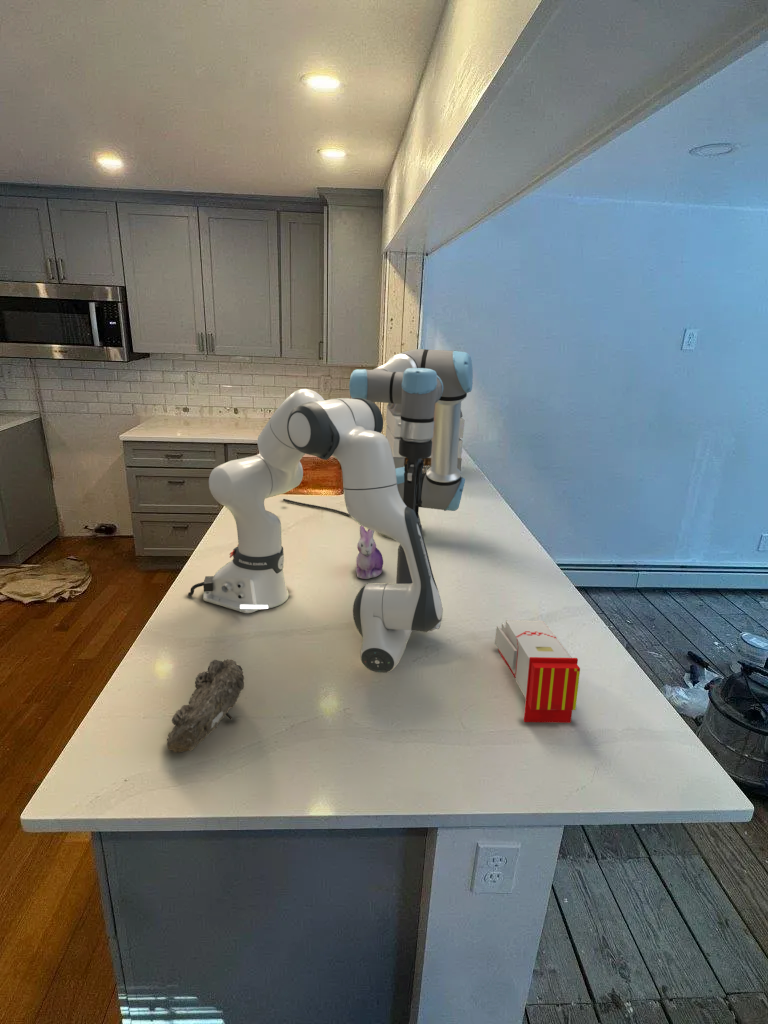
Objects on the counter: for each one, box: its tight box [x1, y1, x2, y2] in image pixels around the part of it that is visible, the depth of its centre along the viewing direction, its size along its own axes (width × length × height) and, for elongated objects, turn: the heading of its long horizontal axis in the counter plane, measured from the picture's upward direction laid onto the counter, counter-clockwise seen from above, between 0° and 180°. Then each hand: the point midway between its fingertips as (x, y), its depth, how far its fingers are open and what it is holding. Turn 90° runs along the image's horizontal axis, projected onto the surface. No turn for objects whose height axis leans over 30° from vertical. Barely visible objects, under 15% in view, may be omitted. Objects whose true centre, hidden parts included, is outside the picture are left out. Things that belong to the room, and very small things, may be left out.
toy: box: [494, 619, 581, 724], centre depth 121 cm, size 12×13×30 cm
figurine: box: [355, 525, 384, 580], centre depth 167 cm, size 9×10×15 cm
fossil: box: [166, 658, 245, 754], centre depth 106 cm, size 22×10×15 cm
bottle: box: [395, 544, 413, 584], centre depth 140 cm, size 5×5×25 cm
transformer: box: [385, 403, 465, 473], centre depth 268 cm, size 34×33×41 cm
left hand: (406, 596), depth 143 cm, fingers closed on bottle, 5 cm apart
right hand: (409, 533), depth 137 cm, fingers closed on cap, 4 cm apart
